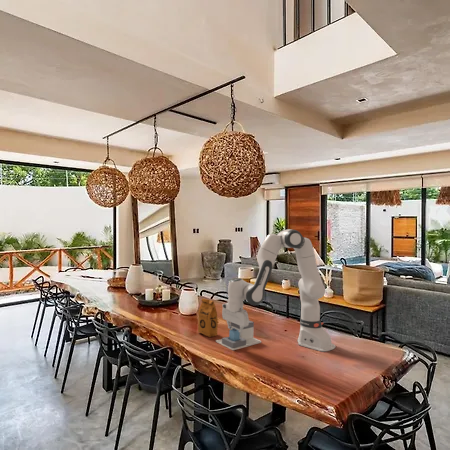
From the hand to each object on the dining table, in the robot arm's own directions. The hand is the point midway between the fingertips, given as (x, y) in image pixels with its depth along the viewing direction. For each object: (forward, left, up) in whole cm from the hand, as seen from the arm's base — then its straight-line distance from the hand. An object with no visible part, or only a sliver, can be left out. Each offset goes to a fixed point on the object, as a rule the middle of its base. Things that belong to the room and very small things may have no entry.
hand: (235, 330), depth 198 cm
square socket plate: (+3, -6, -9) cm, 11 cm away
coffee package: (+25, +1, -9) cm, 27 cm away
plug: (0, 0, -8) cm, 8 cm away
